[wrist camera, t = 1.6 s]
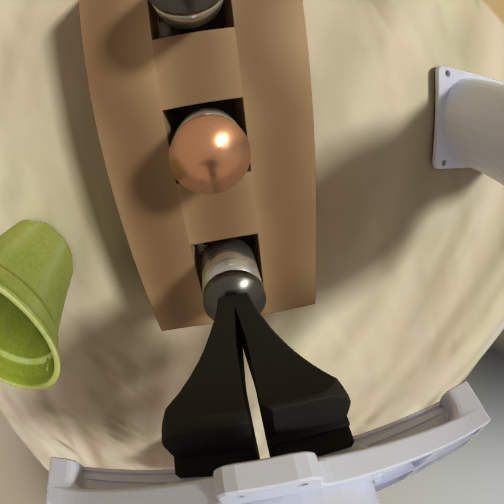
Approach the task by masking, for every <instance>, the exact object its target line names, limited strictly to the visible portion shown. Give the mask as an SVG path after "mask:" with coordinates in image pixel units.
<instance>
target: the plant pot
mask: <svg viewBox="0 0 504 504" xmlns="http://www.w3.org/2000/svg"><path fill="white" fill-rule="evenodd" d="M72 273H73V265H72V254H71V251H70V249H69V247H68V245H67V243H66V242H65V240H64V239H63V237H62V236H61V235H60V234H59V233H58V232H57V231H56V230H55V229H54V228H52V227H51V226H49V225H48V224H46V223H41V222H35V221H30V220H24V221H21V222H19V223H17V224H16V225H14V226H13V227H11V228H10V229H9V230H7V231H6V232H5V233H3V234H2V235H1V236H0V381H2V382H4V383H7V384H9V385H12V386H14V387H18V388H23V389H31V390H38V389H39V390H40V389H45V388H48V387H50V386H52V385H53V384H54V383H55V382H56V381H57V379H58V377H59V374H60V369H61V360H60V355H59V351H58V329H59V324H60V320H61V315H62V311H63V307H64V303H65V298H66V295H67V291H68V287H69V284H70V280H71V277H72Z"/></svg>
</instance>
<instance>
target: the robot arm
mask: <svg viewBox="0 0 504 504" xmlns="http://www.w3.org/2000/svg"><path fill="white" fill-rule="evenodd" d="M445 72H446V73H447V75H446V74H445ZM435 87H436V101H435V132H434V148H433V160H432V164H433V166H434V167H435V168H437V169H450V168H474V169H476V170H478V171H479V172H481V173H483V174H485V175H487V176H489V177H490V178H492V179H494V180H496V181H497V182H499V183H501V184H503V185H504V82H501V81H498V80H494V79H491V78H488V77H484V76H481V75H477V74H474V73H470V72H466V71H462V70H458V69H453V68H449V67H444V66H437V67H436V69H435ZM442 161H443V163H442ZM242 345H243V347H242ZM243 349H244V352H245V356H246V359H247V362H248V365H249V369H250V372H251V375H252V378H253V382H254V385H255V389H256V393H257V398H258V403H259V407H260V412H261V417H262V422H263V426H264V431H265V436H266V440H267V445H268V450H269V454H270V458H265V459H260V456H259V451H258V447H257V442H256V437H255V432H254V427H253V422H252V417H251V412H250V407H249V402H248V397H247V391H246V383H245V371H244V359H243ZM350 402H351V401H350V398H349V396H348V394H347V392H346V391H345V389H344V387H343V386H342V385H341V383H340V382H339V381H338V379H337V378H335V377H333V376H331V375H329V374H327V373H326V372H324V371H322V370H320V369H319V368H317V367H316V366H314V365H312V364H311V363H310V362H308V361H307V360H305V359H304V358H303V357H301V356H300V355H299V354H297V353H296V352H295V351H294V350H293V349H291V348H290V347H289V346H288V345H287V344H286V343H285V342H284V341H283V340H282V339H281V338H280V337H279V336H278V335H277V334H276V333H275V332H274V331H273V330H272V328H271V327H270V326H269V325H268V324H267V322H266V321H265V320H264V318H263V317H262V316H261V314H260V313H259V312H258V310H257V308H256V307H255V305H254V304H253V302H252V300H251V298H250V296H249V294H248V293H240V294H234V295H229V296H223V297H219V298H218V303H217V310H216V315H215V319H214V323H213V326H212V330H211V333H210V336H209V338H208V341H207V344H206V346H205V349H204V351H203V353H202V356H201V358H200V360H199V362H198V364H197V365H196V367H195V369H194V371H193V373H192V374H191V376H190V378H189V379H188V381H187V382H186V384H185V385H184V387H183V388H182V389H181V391H180V392H179V394H178V395H177V396H176V397H175V399H174V400H173V401H172V402H171V403H170V405H169V406H168V407H167V408H166V410H165V413H164V417H163V423H162V444H163V446H164V447H165V448H166V449H167V450H168V451H169V452H170V453H171V454H172V455H173V456H174V462H175V469H169V470H123V469H104V468H91V467H83V466H82V465H81V464H80V463H78V462H76V461H74V460H70V459H64V458H56V457H51V461H50V469H49V476H48V485H47V495H46V503H47V504H380V502H379V499H378V496H377V493H376V492H377V491H379V490H381V489H384V488H386V487H388V486H390V485H392V484H395V483H397V482H399V481H401V480H403V479H405V478H407V477H409V476H411V475H413V474H415V473H417V472H419V471H420V470H422V469H424V468H426V467H428V466H430V465H431V464H433V463H435V462H437V461H438V460H440V459H442V458H444V457H445V456H447V455H449V454H450V453H452V452H454V451H456V450H457V449H459V448H461V447H462V446H464V445H465V444H467V443H468V442H469V441H470V440H471V439H472V438H473V437H474V436H475V435H476V434H478V433H479V432H480V431H481V430H482V429H483V428H484V427H485V426H486V425H487V424H488V423H489V422H490V418H489V416H488V415H487V413H486V411H485V410H484V408H483V406H482V405H481V403H480V401H479V400H478V398H477V397H476V395H475V393H474V392H473V390H472V389H471V387H470V386H469V384H468V383H467V382H464V383H461V384H460V385H458V386H456V387H454V388H452V389H450V390H449V391H447V392H446V393H445V394H444V395H443V396H442V397H441V399H440V401H439V402H437V403H435V404H433V405H431V406H429V407H427V408H425V409H422V410H420V411H418V412H416V413H413V414H411V415H409V416H406V417H404V418H402V419H399V420H397V421H394V422H392V423H389V424H387V425H384V426H382V427H379V428H376V429H373V430H371V431H368V432H365V433H362V434H359V435H356V436H352V434H351V431H350V428H349V425H350V423H349V420H348V418H347V414H348V411H349V407H350Z"/></svg>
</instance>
